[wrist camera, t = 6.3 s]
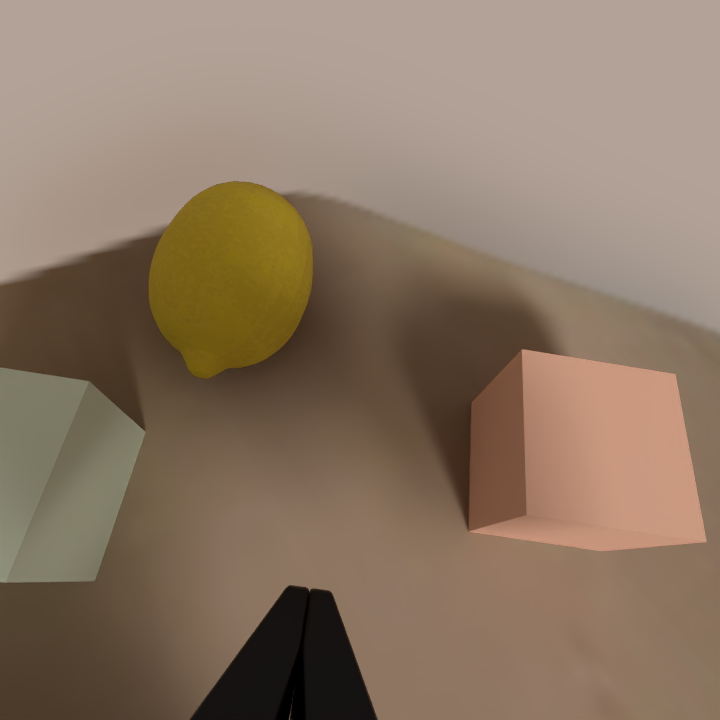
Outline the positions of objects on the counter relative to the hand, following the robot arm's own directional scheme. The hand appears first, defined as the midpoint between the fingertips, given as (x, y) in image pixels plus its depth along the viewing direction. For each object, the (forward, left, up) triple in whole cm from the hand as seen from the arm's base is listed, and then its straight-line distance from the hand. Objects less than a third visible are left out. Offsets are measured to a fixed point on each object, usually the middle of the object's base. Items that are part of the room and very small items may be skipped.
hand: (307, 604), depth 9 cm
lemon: (+6, +4, -5) cm, 9 cm away
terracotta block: (+4, -9, -7) cm, 12 cm away
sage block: (+4, +9, -7) cm, 12 cm away
